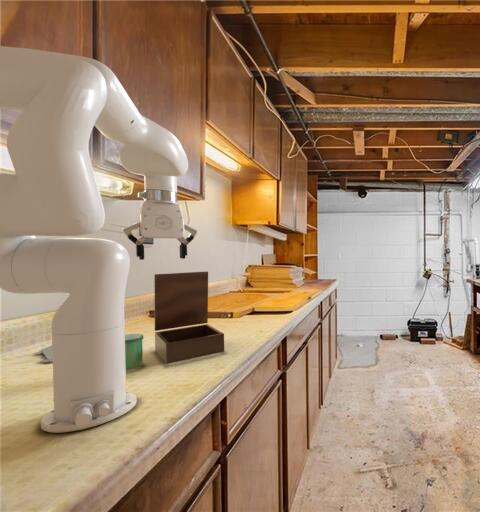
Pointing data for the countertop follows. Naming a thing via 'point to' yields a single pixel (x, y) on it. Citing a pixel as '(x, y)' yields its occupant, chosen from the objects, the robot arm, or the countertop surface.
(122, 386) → the robot arm
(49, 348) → the metal bracket
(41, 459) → the countertop surface
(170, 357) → the bin
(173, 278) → the bin lid
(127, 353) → the pot
